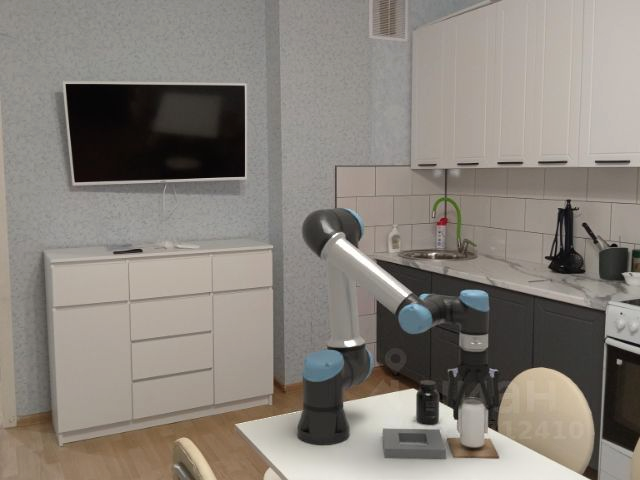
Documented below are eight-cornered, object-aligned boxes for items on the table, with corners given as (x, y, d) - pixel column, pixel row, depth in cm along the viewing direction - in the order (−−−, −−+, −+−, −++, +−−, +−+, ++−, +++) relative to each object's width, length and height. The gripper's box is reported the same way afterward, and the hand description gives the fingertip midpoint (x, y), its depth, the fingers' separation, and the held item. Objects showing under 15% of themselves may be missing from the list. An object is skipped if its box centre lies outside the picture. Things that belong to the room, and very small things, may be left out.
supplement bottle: (442, 419, 199) (442, 381, 198) (434, 426, 193) (434, 387, 192) (421, 415, 202) (421, 377, 201) (412, 422, 197) (412, 383, 195)
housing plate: (384, 457, 172) (384, 448, 172) (382, 436, 186) (382, 428, 185) (445, 458, 171) (445, 449, 171) (439, 437, 185) (439, 429, 184)
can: (484, 449, 173) (485, 405, 172) (459, 447, 175) (460, 403, 173) (483, 439, 180) (484, 397, 178) (459, 437, 181) (460, 395, 180)
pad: (453, 457, 172) (453, 455, 172) (446, 439, 184) (446, 437, 184) (499, 458, 171) (499, 456, 171) (490, 440, 183) (490, 438, 183)
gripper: (438, 351, 172) (437, 436, 174) (513, 352, 170) (511, 437, 172) (435, 344, 179) (434, 425, 181) (507, 344, 178) (505, 426, 180)
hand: (472, 431), depth 177 cm, fingers closed on can, 6 cm apart
